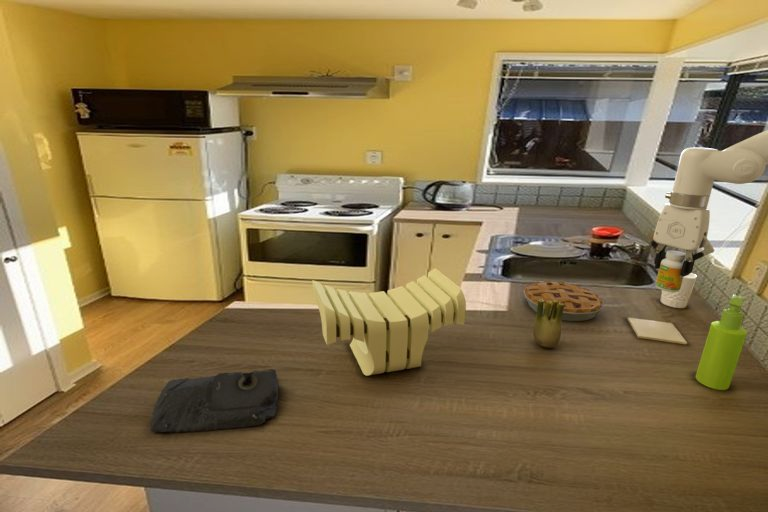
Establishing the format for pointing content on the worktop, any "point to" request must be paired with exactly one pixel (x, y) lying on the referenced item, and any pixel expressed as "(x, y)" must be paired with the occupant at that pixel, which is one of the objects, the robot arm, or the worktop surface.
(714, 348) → the soap dispenser
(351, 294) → the slatted curved stool
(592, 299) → the pie
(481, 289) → the worktop surface
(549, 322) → the fennel bulb
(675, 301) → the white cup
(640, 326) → the coaster
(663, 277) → the supplement bottle
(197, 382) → the dark slate chunk
